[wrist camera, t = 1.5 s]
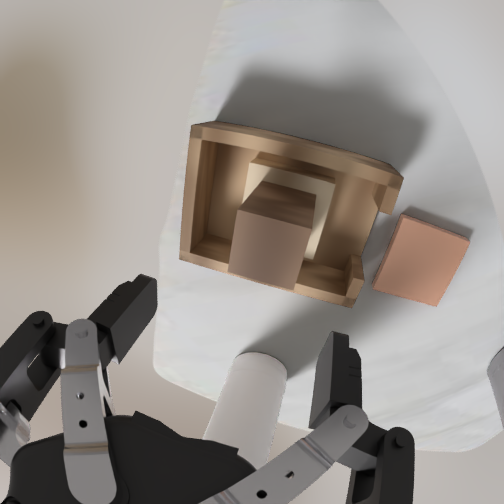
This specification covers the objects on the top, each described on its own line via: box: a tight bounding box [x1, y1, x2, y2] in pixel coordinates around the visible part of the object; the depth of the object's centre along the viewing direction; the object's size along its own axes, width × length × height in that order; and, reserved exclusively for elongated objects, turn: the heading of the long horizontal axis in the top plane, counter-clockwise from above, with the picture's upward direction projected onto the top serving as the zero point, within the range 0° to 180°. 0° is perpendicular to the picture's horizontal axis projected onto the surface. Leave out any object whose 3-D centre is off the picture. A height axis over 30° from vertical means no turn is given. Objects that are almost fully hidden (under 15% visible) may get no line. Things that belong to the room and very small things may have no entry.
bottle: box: [202, 352, 287, 470], centre depth 26 cm, size 8×8×30 cm
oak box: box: [179, 121, 404, 308], centre depth 25 cm, size 16×12×5 cm
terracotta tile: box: [372, 214, 470, 306], centre depth 26 cm, size 8×8×1 cm
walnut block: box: [227, 181, 316, 290], centre depth 21 cm, size 4×4×7 cm
